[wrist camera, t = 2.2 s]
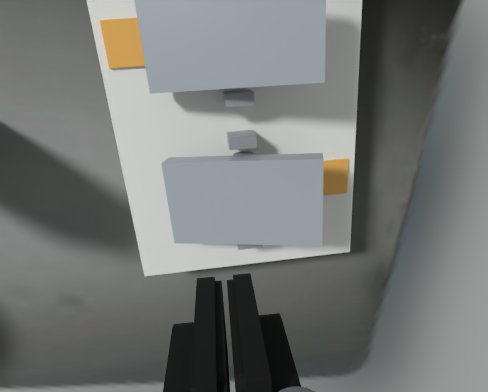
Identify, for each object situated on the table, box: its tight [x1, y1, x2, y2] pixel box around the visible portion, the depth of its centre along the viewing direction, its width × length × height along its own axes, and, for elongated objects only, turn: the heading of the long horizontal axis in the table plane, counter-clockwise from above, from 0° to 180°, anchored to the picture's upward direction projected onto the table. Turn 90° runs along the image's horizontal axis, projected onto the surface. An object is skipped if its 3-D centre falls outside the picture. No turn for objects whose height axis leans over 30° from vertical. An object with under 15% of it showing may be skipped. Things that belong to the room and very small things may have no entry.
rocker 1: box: [134, 0, 326, 94], centre depth 17 cm, size 5×9×2 cm, turn 94°
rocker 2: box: [161, 151, 324, 246], centre depth 21 cm, size 5×9×2 cm, turn 94°
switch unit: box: [87, 0, 362, 276], centre depth 20 cm, size 30×15×5 cm, turn 4°
